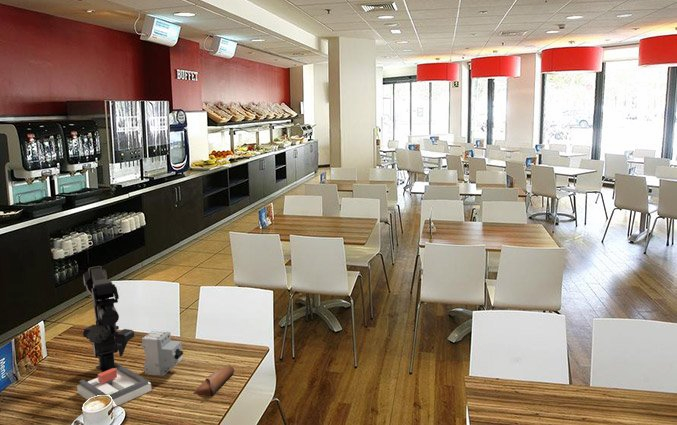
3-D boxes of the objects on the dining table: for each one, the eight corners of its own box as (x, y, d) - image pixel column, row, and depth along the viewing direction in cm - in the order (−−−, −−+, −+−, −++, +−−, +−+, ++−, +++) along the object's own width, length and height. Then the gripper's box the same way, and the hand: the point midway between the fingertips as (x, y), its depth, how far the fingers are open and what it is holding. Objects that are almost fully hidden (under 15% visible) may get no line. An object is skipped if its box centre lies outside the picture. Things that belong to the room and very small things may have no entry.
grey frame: (79, 384, 202) (79, 381, 201) (120, 368, 214) (120, 364, 213) (106, 402, 189) (106, 398, 189) (148, 384, 201) (148, 380, 201)
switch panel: (78, 393, 201) (77, 385, 201) (123, 374, 215) (122, 367, 214) (104, 411, 189) (103, 403, 188) (151, 390, 202) (150, 382, 202)
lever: (99, 387, 203) (97, 374, 202) (114, 381, 207) (113, 368, 206) (102, 389, 201) (100, 376, 200) (117, 383, 206) (116, 369, 205)
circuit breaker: (178, 376, 212) (175, 340, 209) (144, 374, 215) (141, 338, 212) (187, 367, 219) (184, 332, 216) (154, 365, 222) (151, 330, 219)
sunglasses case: (214, 370, 216) (221, 358, 214) (229, 380, 215) (236, 367, 213) (192, 394, 199) (199, 380, 197) (207, 404, 198) (215, 391, 196)
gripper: (69, 321, 196) (74, 361, 200) (112, 327, 191) (117, 368, 194) (91, 309, 207) (96, 347, 210) (133, 315, 201) (137, 354, 205)
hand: (110, 354), depth 205 cm, fingers open, 9 cm apart
